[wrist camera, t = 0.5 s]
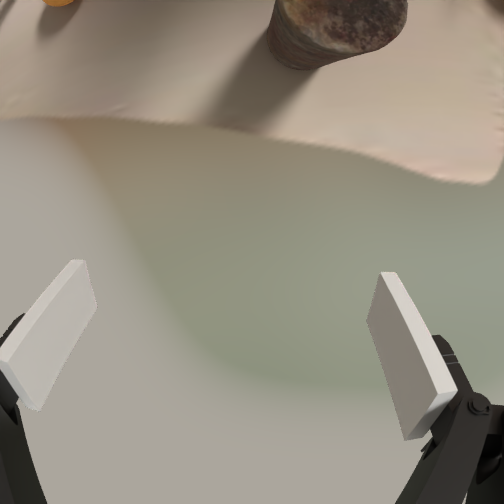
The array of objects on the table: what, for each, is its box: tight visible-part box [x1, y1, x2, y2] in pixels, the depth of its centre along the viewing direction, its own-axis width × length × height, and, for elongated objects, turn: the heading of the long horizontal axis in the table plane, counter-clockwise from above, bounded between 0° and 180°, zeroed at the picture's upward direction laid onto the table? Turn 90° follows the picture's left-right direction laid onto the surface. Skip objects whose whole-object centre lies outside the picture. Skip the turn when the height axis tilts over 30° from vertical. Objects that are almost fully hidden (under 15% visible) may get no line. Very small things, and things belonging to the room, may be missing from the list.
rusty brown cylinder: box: [267, 0, 408, 70], centre depth 21 cm, size 8×7×20 cm
